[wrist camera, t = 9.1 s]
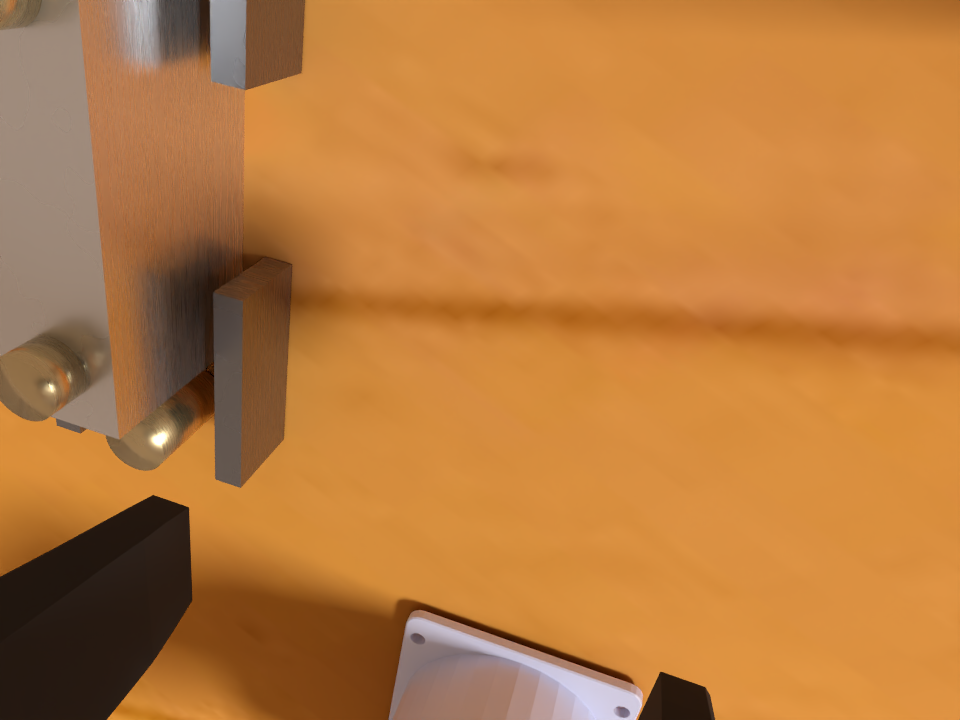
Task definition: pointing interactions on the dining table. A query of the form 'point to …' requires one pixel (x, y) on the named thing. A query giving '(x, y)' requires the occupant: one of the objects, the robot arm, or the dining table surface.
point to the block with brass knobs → (112, 205)
